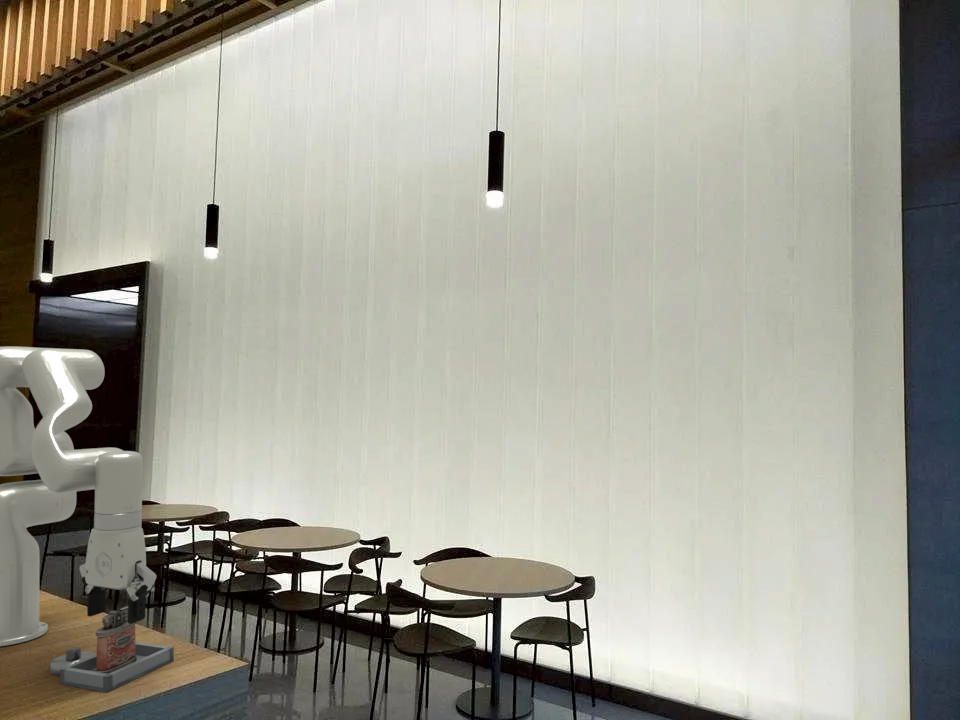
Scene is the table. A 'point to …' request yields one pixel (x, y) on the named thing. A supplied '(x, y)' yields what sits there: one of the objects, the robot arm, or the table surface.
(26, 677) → the table surface
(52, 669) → the pot lid
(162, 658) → the tray
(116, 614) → the lighter
